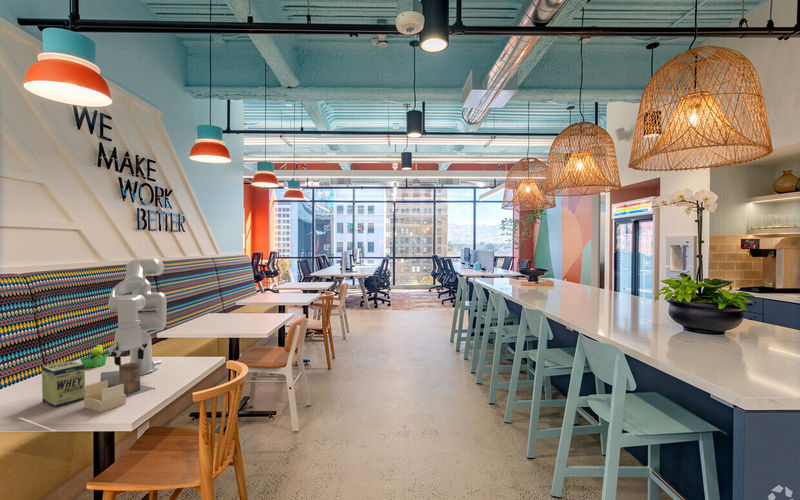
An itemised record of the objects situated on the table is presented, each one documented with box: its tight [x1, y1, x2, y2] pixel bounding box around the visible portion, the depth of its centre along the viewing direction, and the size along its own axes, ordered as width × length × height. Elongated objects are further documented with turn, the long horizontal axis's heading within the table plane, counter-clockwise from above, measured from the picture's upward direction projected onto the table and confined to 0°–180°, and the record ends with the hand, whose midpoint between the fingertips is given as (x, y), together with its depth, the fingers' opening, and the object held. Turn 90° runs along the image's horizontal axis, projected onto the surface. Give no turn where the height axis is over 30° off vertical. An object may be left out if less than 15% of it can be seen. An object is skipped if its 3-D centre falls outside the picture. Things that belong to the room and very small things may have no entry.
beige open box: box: [83, 380, 127, 413], centre depth 161 cm, size 9×12×9 cm
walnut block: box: [118, 362, 141, 394], centre depth 177 cm, size 5×7×12 cm
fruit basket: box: [79, 344, 108, 368], centre depth 222 cm, size 11×9×11 cm
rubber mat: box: [124, 384, 156, 399], centre depth 177 cm, size 14×14×1 cm
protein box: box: [41, 360, 86, 408], centre depth 168 cm, size 10×16×16 cm
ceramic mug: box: [99, 370, 120, 388], centre depth 186 cm, size 11×8×8 cm
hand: (129, 361), depth 178 cm, fingers open, 9 cm apart
